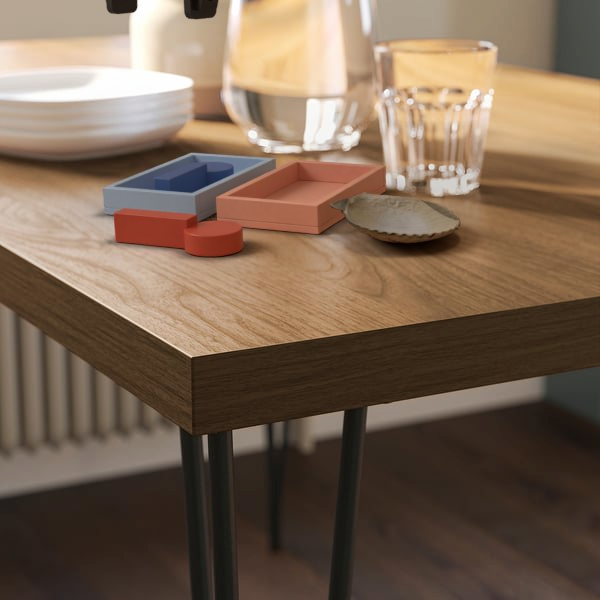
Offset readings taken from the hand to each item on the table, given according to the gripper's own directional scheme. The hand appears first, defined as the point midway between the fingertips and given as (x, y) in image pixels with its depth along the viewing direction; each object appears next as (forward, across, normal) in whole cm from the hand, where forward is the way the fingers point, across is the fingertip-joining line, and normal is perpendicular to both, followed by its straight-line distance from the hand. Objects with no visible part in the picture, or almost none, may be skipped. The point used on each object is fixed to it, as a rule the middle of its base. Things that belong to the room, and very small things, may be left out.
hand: (160, 15), depth 80 cm
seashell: (+14, -16, -6) cm, 22 cm away
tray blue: (+14, +3, -5) cm, 15 cm away
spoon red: (+14, -6, +5) cm, 16 cm away
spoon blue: (+14, +3, -5) cm, 15 cm away
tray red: (+14, -6, -8) cm, 17 cm away
